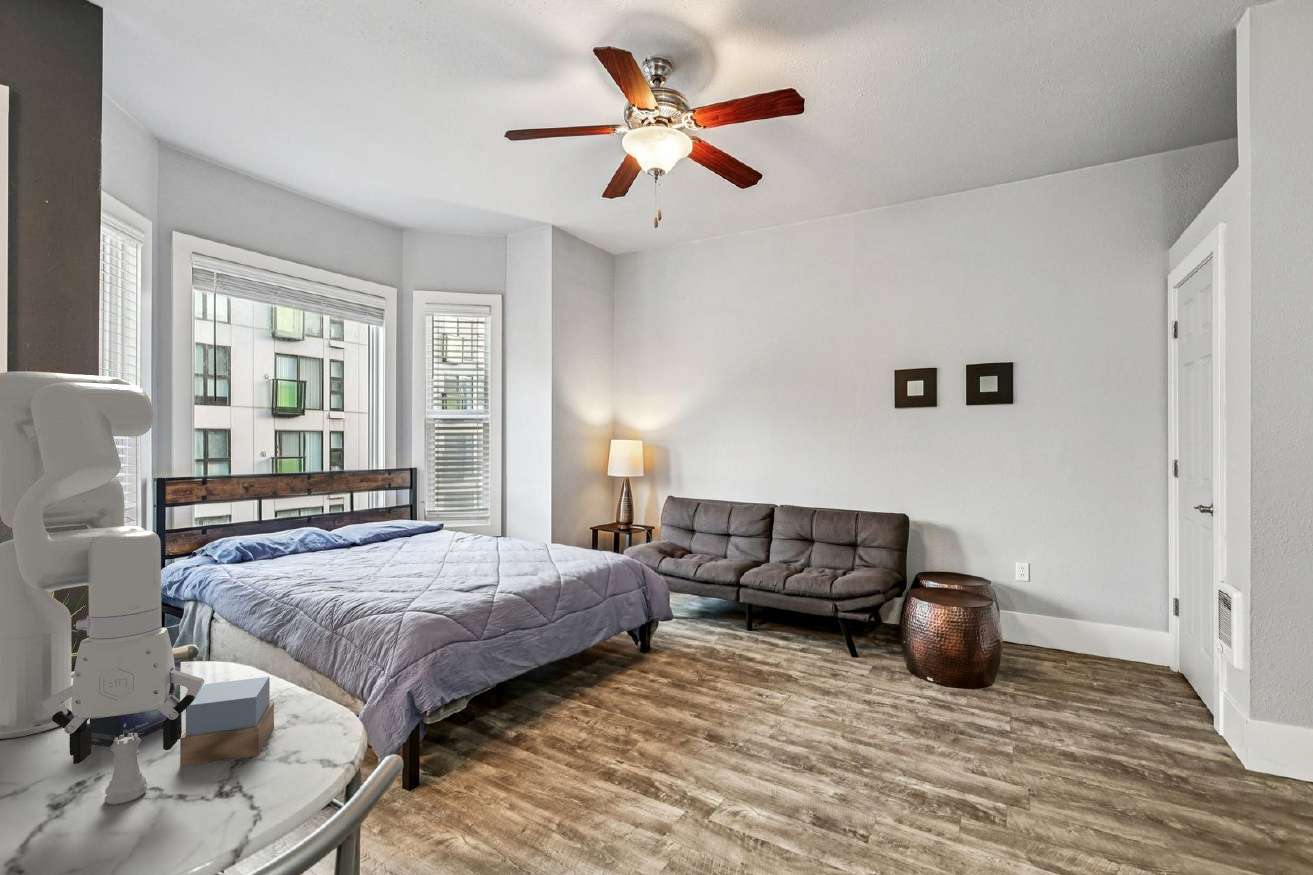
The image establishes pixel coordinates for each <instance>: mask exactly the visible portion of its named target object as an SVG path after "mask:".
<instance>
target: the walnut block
mask: <svg viewBox="0 0 1313 875" xmlns="http://www.w3.org/2000/svg"><path fill="white" fill-rule="evenodd" d="M274 729H275V702H274V701H273V702H272V701H271V702H270V704H269V706H268V707H267V709H266V711H265V712H264V714H263V716H262V717H261V719H260V721H259V723H258V724H257V726H256V727H249V728H242V729H234V730H227V731H220V732H213V733H206V734H198V735H191V736H186V731H185V732H184V733H182V734H181V738H180V739H179V743H180V744H179V753H180V756H179V764H180V765H179V766H180V768H181V767H183V768H184V767H188V766H189V767H190V766H196V765H202V764H210V763H216V762H223V761H228V760H237V759H241V758H242V759H243V758H251V757H256V756H257V757H258V756H259V755H260V754H261V752H262V750H263V748H264V746H265V745H266V743H267V741H268V739H269V738H270V736H271V733H272V732H273V730H274Z"/></svg>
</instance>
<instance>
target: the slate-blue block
mask: <svg viewBox="0 0 1313 875" xmlns="http://www.w3.org/2000/svg"><path fill="white" fill-rule="evenodd" d="M270 679H271V678H270V676H263V677H255V678H247V679H238V680H231V681H221V682H213V683H212V682H211V683H204V684H203V686H202V688H201V690H200V691H199V693H198V695H197V697H196V699H195V700H194V701H193V702H192V703H191V704H190V705H189V706H188V707H187V708H186V709H185V732H186V736H191V735H198V734H206V733H213V732H220V731H227V730H234V729H242V728H249V727H256V726H257V724H258V723H259V721H260V719H261V717H262V716H263V714H264V712H265V711H266V709H267V707H268V706H269V704H270V703H271V702H270V697H271V696H270V695H271V694H270V687H271V686H270Z"/></svg>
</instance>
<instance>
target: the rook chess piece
mask: <svg viewBox="0 0 1313 875" xmlns="http://www.w3.org/2000/svg"><path fill="white" fill-rule="evenodd" d="M141 743H142V739H141V737H140V738H138V734H137V733H135V734H134V736H133V733H128V737H125V738H124V734H123V735H120V736H119V740H118V738H115V739H114V743H113V744H112V746H109V749H110V750H111V751H112V753H114V755H113V757H112V761H113V763H114V766H113V772H112V777H111V778H110V781H109V782H108V783H109V784H108V785H107V786H106V788H105V791H104V794H105V797H104V802H106V804H109V805H112V806H115V805H117V804H118V805H124V804H126V803H127V804H128V803H130V802H133V801H134V800H135V801H136V800H137V799H138V798H140V797H142V796H143V795H144V794H145V792H146V791H147V789H148V786H147V785H146V784H147V779H146V777H145V775H144V776H143V772H141V771H140V766H139V762H138V761H139V760H138V756H139V754H140V751H139V750H138V747H139V745H140V744H141ZM118 805H117V806H118Z"/></svg>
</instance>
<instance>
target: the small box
mask: <svg viewBox="0 0 1313 875" xmlns="http://www.w3.org/2000/svg"><path fill="white" fill-rule="evenodd" d="M174 664H175V670H177V671H180V672H182V671H181V670H182V669H181V667H182V661H181V660H179V659H174ZM173 695H174V696H175V697H176V698H177V699H179V700H180V701H181V685H178V684H176V688H175V693H174V694H173ZM166 719H167V717H166V716H165V715H164V714H163V713H162V712H161V711H159V710H158V709H154V710H151V711H145V712H139V713H132V714H124V715H117V716H109V717H102V718H93V719H89V724H90V725H91V726H92V745H98V746H104V747H111V746H112V744H113V743H114V739H115V738H118V740H119V736H120V735H123V734H124V738H125V737H128V733H133V736H134V734H135V733H137V734H138V738H140V739H141V738H143V737H145V736H146V735H149V734H151V733H154V732H156V731H158V730H160V729H163V722H164V721H165V720H166Z"/></svg>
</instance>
